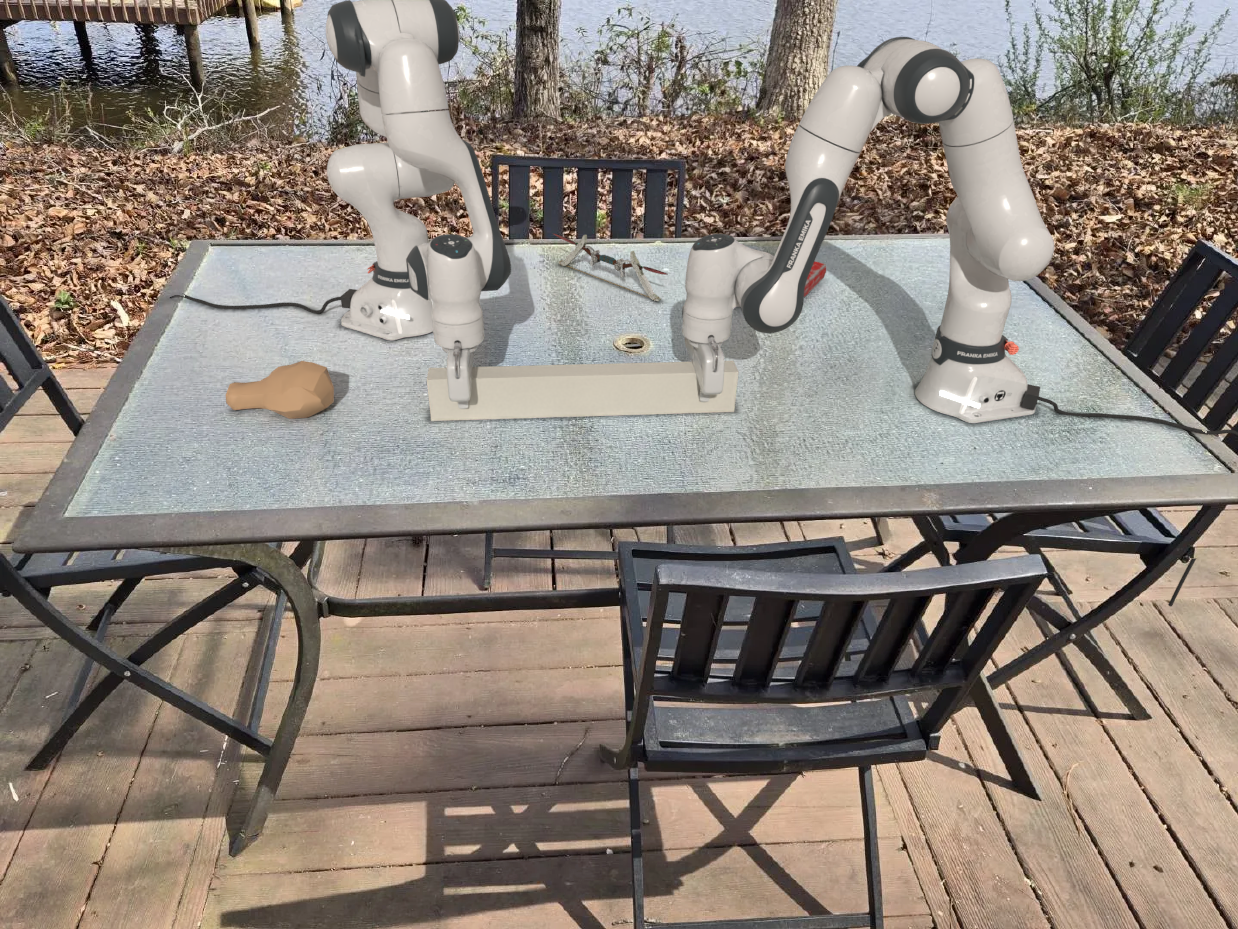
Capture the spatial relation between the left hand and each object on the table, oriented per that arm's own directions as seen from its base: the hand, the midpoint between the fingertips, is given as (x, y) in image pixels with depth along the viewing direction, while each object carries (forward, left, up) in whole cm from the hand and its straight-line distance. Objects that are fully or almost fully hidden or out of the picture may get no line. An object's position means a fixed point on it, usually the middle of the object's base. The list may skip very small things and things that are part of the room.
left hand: (464, 398), depth 162 cm
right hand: (+40, +18, 0) cm, 44 cm away
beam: (+20, +9, -3) cm, 22 cm away
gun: (+43, +80, -3) cm, 91 cm away
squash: (-32, -11, -3) cm, 34 cm away
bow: (+4, +70, -3) cm, 71 cm away
